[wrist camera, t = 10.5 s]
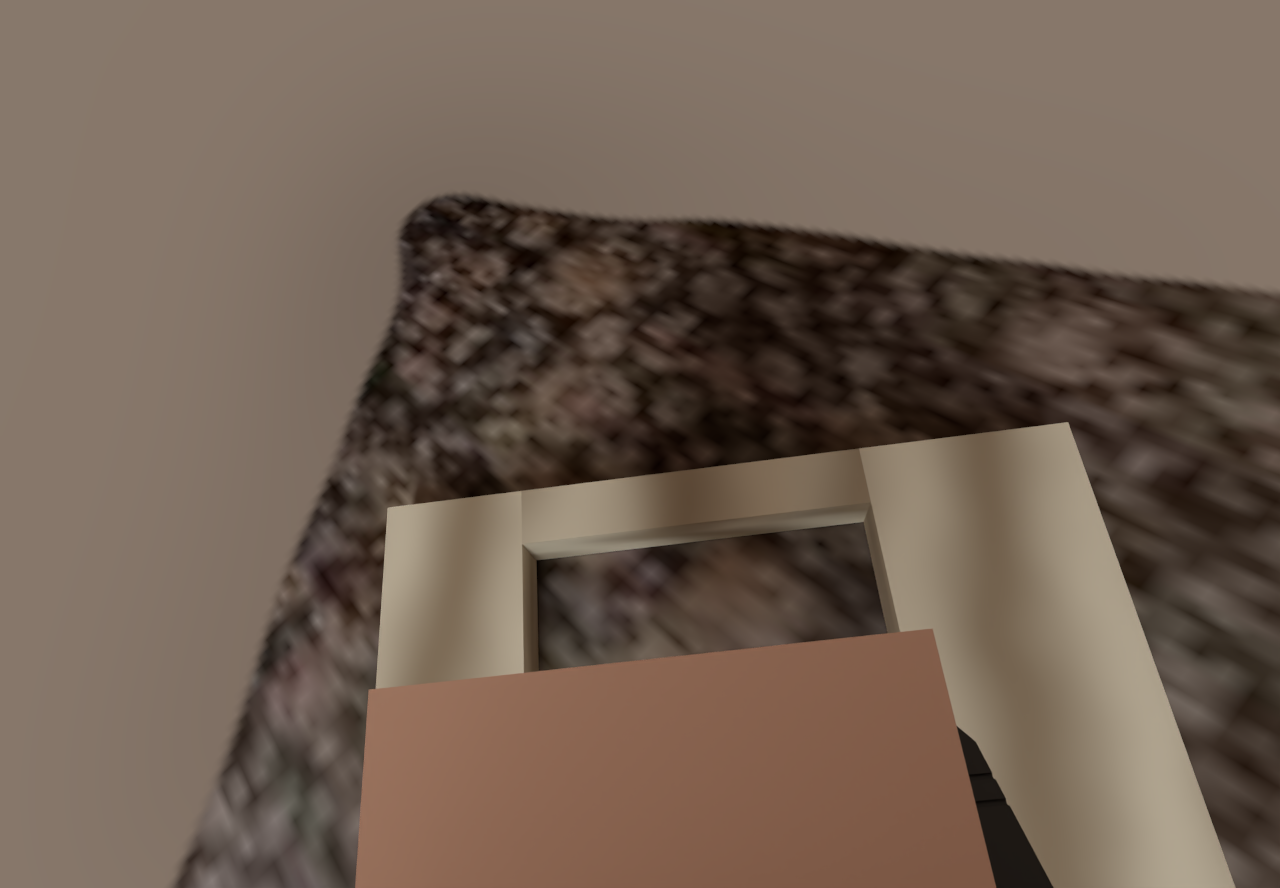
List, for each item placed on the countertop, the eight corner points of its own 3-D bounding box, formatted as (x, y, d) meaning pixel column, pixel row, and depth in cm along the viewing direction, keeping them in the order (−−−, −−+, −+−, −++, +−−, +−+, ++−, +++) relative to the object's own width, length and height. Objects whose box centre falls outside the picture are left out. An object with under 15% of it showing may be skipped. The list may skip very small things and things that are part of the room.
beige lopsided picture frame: (1047, 447, 28) (1068, 422, 26) (1259, 1066, 20) (1309, 1091, 18) (409, 525, 30) (387, 507, 28) (378, 1116, 22) (345, 1142, 20)
